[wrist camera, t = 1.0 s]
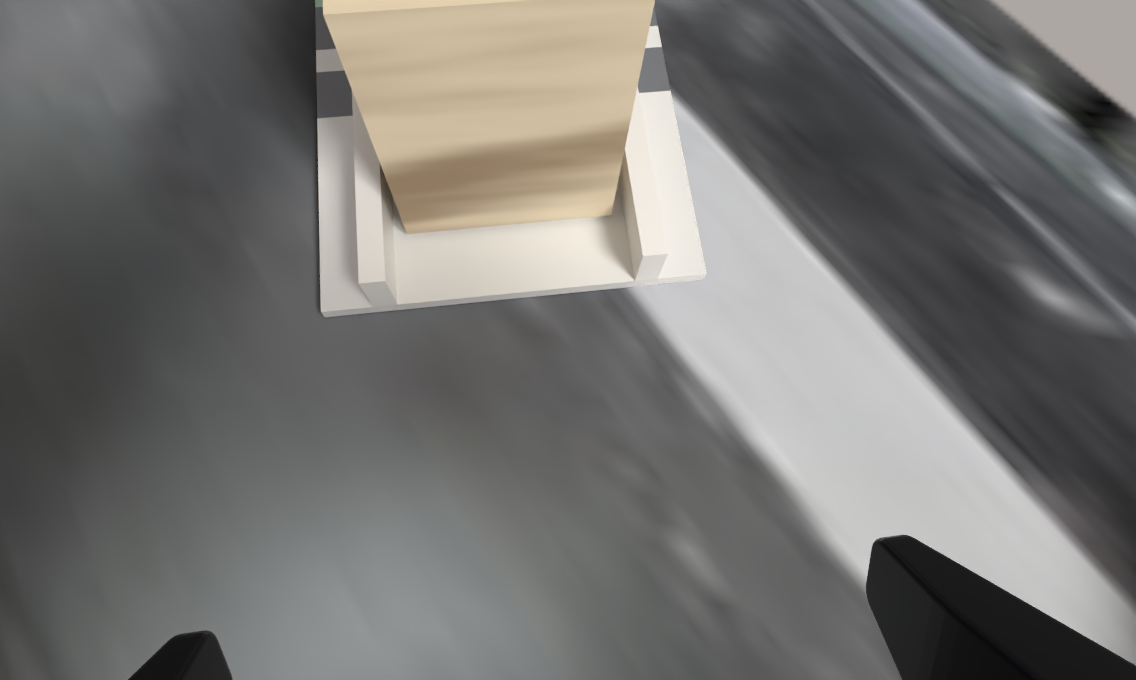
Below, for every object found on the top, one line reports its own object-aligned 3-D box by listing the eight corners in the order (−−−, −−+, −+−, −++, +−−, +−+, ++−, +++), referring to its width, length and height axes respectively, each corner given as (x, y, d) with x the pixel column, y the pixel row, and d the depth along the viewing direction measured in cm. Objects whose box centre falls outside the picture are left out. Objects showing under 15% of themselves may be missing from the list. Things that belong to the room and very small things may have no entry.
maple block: (611, 215, 25) (656, -8, 15) (407, 233, 24) (323, 14, 15) (592, 93, 26) (622, -178, 17) (399, 109, 26) (319, -163, 16)
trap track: (703, 279, 25) (720, 248, 23) (325, 317, 24) (301, 289, 22) (627, -109, 31) (634, -166, 28) (316, -91, 30) (297, -149, 27)
